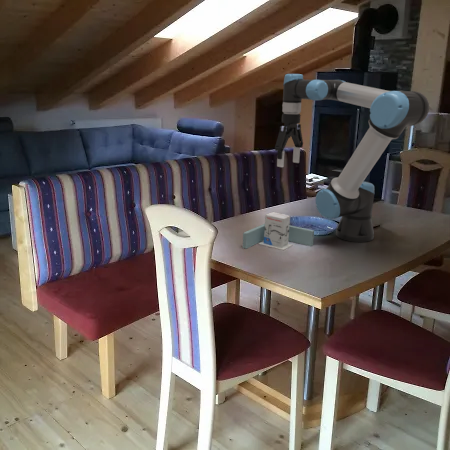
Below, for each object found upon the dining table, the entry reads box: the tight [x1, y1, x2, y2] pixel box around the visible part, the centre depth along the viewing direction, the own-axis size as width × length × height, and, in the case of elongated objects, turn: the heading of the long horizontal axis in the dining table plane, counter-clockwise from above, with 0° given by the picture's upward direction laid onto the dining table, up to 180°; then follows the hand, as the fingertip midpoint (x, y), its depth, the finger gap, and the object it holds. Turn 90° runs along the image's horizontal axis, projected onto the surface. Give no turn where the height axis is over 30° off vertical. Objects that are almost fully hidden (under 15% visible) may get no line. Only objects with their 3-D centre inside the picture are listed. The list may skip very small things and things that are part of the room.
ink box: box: [263, 211, 291, 248], centre depth 194 cm, size 9×5×12 cm, turn 52°
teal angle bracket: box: [242, 223, 315, 249], centre depth 193 cm, size 20×20×6 cm
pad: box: [258, 240, 293, 251], centre depth 195 cm, size 11×7×1 cm, turn 54°
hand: (288, 164), depth 213 cm, fingers open, 13 cm apart
